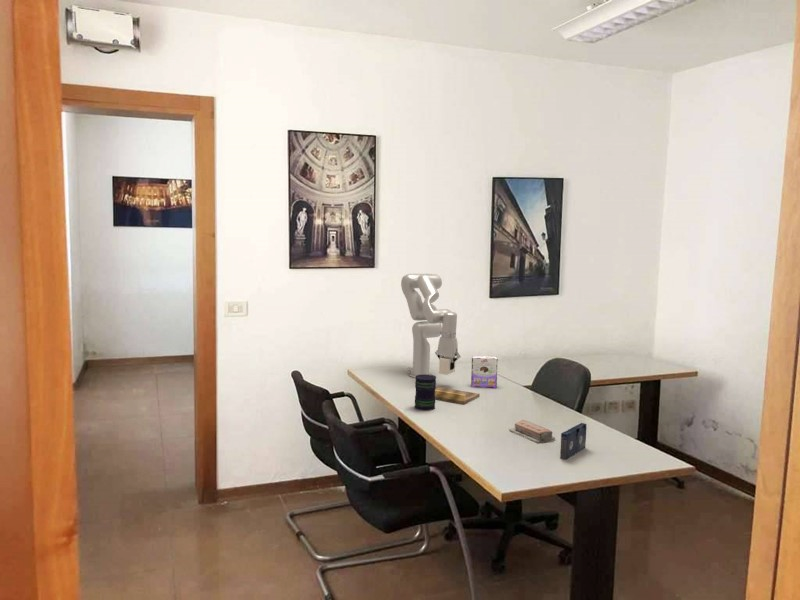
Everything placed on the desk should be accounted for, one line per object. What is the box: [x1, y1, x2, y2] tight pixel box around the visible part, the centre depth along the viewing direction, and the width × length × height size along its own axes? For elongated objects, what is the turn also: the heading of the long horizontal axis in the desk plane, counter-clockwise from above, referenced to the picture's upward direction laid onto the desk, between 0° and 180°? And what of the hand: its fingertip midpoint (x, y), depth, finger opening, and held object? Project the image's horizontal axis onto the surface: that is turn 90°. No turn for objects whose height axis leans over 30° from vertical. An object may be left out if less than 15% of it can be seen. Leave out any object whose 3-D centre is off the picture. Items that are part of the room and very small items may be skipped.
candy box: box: [470, 355, 498, 389], centre depth 351 cm, size 14×6×16 cm, turn 84°
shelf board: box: [435, 386, 481, 405], centre depth 329 cm, size 24×18×4 cm
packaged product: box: [508, 419, 556, 444], centre depth 271 cm, size 18×5×10 cm
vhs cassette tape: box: [559, 422, 588, 461], centre depth 250 cm, size 18×3×10 cm, turn 140°
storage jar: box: [414, 374, 437, 412], centre depth 307 cm, size 10×10×15 cm
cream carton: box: [438, 356, 457, 376], centre depth 347 cm, size 5×9×8 cm, turn 149°
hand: (446, 368), depth 347 cm, fingers closed on cream carton, 5 cm apart
